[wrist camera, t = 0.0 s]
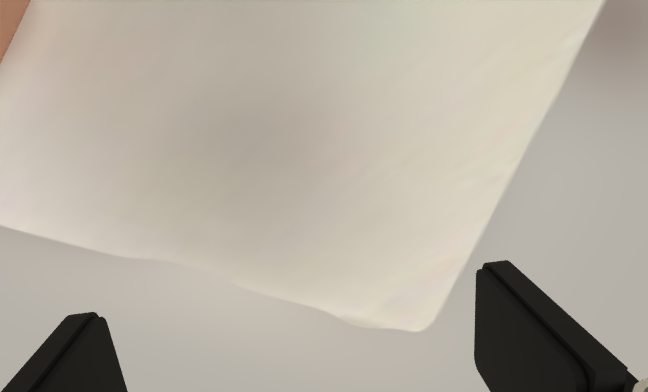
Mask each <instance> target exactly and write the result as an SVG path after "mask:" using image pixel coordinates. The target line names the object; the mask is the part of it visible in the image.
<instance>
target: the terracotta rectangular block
mask: <svg viewBox="0 0 648 392" xmlns="http://www.w3.org/2000/svg"><path fill="white" fill-rule="evenodd" d="M29 2H30V0H0V63H1V61H2V59H3V57H4V55H5V52H6V50H7V48H8V46H9V44H10V42H11V40H12V38H13V36H14V33H15V31H16V29H17V27H18V25H19V23H20V21H21V19H22V17H23V14H24V12H25V10H26V8H27V6H28V4H29Z"/></svg>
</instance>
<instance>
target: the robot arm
mask: <svg viewBox="0 0 648 392" xmlns="http://www.w3.org/2000/svg"><path fill="white" fill-rule="evenodd" d="M474 346H475V347H474V348H475V349H474V359H475V364H476V367H477V370H478V372H479V373H480V375H481V377H482V378H483V380H484V382H485V383H486V385H487V386H488V388H489V390H490V391H491V392H648V378H647V379H642V380H641V381H638V380H637V379H636V378H635V377H634V376H633V375H632V374H631V373H629V372H628V371H627V367H626V366H625V365H624V364H623V363H622V362H620V361H619V360H618V359H617V358H616V357H615V356H614V355H613V354H612V353H611V352H609V351H608V350H607V349H606V348H605V347H604V346H603V345H602V344H600V343H599V342H598V341H597V340H596V339H595V338H594V337H593V336H592V335H590V334H589V333H588V332H587V331H586V330H585V329H584V328H583V327H582V326H580V325H579V324H578V323H577V322H576V321H575V320H574V319H573V318H572V317H571V316H569V315H568V314H567V313H566V312H565V311H564V310H563V309H562V308H561V307H560V306H558V305H557V304H556V303H555V302H554V301H553V300H552V299H551V298H550V297H548V296H547V295H546V294H545V293H544V292H543V291H542V290H541V289H540V288H538V287H537V286H536V285H535V284H534V283H533V282H532V281H531V280H529V279H528V278H527V277H526V276H525V275H524V274H523V273H522V272H521V271H520V270H518V269H517V268H516V267H515V266H514V265H513V264H512V263H511V262H509V261H507V260H505V261H497V262H489V263H485V264H484V265H483V267H482V269H479V270H477V273H476V302H475V345H474ZM1 392H128V391H127V388H126V385H125V381H124V378H123V375H122V371H121V368H120V365H119V361H118V358H117V355H116V351H115V348H114V345H113V342H112V338H111V335H110V331H109V328H108V325H107V322H106V320H105V318H103V317H99V316H98V315H97V314H96V313H95V312H89V313H82V314H74V315H69V316H67V317H66V318H65V319H64V320H63V321H62V322H61V323H60V325H59V326H58V327H57V328H56V329H55V330H54V331H53V333H52V334H51V335H50V336H49V337H48V338H47V339H46V341H45V342H44V343H43V344H42V345H41V346H40V348H39V349H38V350H37V351H36V352H35V353H34V355H33V356H32V357H31V358H30V359H29V360H28V361H27V362H26V364H25V365H24V366H23V367H22V368H21V369H20V371H19V372H18V373H17V374H16V375H15V376H14V377H13V379H12V380H11V381H10V382H9V383H8V384H7V386H6V387H5V388H4V389H3V390H2V391H1Z"/></svg>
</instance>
